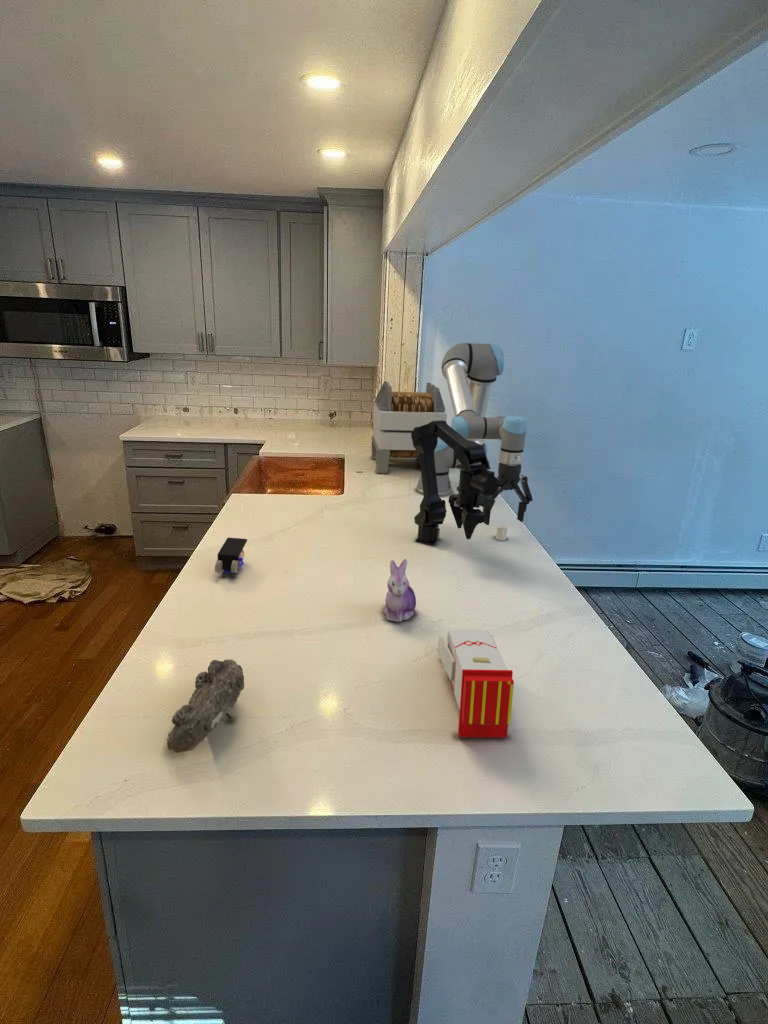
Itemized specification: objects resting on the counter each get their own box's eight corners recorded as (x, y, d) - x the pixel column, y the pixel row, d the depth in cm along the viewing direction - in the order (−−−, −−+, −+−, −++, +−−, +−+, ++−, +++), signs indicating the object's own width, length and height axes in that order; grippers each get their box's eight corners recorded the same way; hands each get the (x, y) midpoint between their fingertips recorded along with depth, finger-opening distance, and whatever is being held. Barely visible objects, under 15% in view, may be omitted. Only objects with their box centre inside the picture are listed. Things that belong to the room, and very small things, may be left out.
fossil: (192, 660, 117) (244, 628, 112) (224, 691, 120) (276, 661, 115) (142, 746, 98) (202, 712, 93) (182, 779, 101) (242, 748, 96)
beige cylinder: (500, 541, 198) (501, 529, 196) (493, 537, 201) (495, 525, 199) (508, 539, 199) (509, 527, 198) (501, 536, 202) (503, 524, 201)
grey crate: (370, 456, 302) (373, 378, 288) (430, 457, 305) (436, 380, 292) (376, 473, 270) (380, 387, 256) (443, 474, 274) (450, 389, 260)
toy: (488, 613, 130) (523, 677, 101) (484, 667, 133) (517, 744, 104) (435, 612, 130) (455, 676, 101) (432, 666, 133) (451, 743, 103)
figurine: (392, 627, 141) (395, 572, 136) (374, 608, 149) (376, 556, 144) (425, 619, 145) (429, 566, 140) (405, 601, 154) (408, 550, 149)
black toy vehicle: (238, 584, 162) (249, 557, 175) (236, 562, 158) (247, 536, 172) (215, 584, 161) (227, 556, 175) (212, 561, 158) (225, 535, 171)
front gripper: (504, 495, 164) (498, 544, 169) (483, 476, 181) (478, 522, 187) (468, 495, 162) (463, 545, 167) (450, 477, 179) (446, 523, 185)
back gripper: (483, 467, 183) (477, 529, 190) (548, 464, 192) (539, 522, 199) (472, 462, 190) (466, 521, 197) (535, 458, 198) (527, 515, 205)
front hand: (463, 533), depth 177 cm, fingers open, 9 cm apart
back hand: (503, 522), depth 198 cm, fingers open, 13 cm apart
